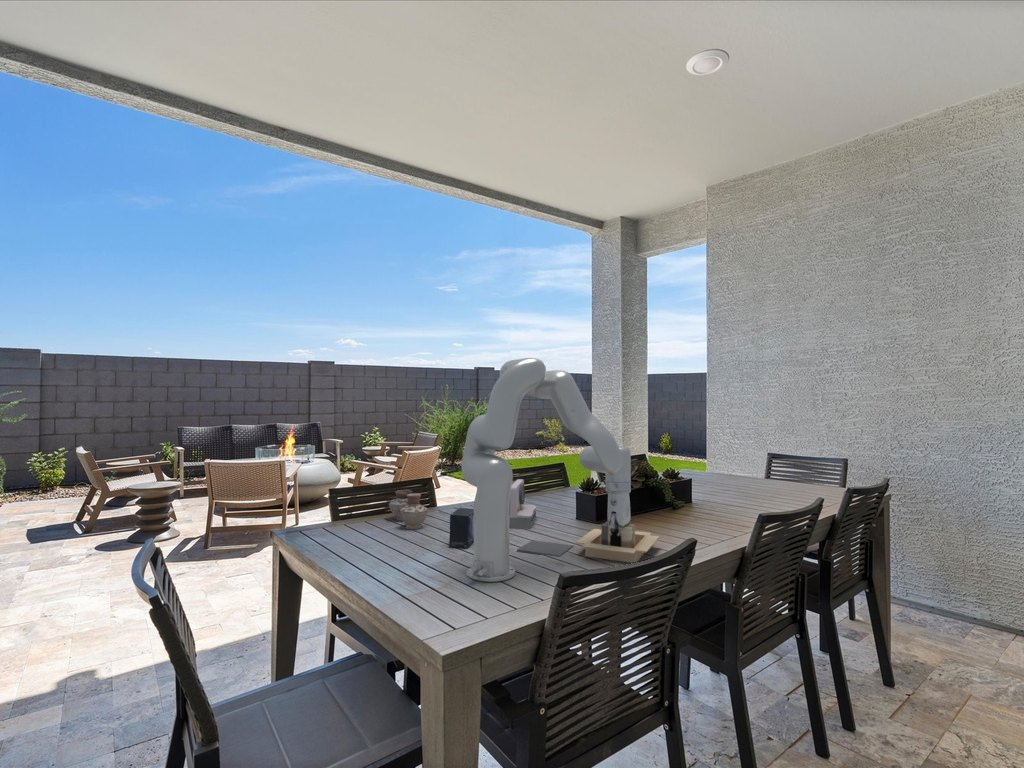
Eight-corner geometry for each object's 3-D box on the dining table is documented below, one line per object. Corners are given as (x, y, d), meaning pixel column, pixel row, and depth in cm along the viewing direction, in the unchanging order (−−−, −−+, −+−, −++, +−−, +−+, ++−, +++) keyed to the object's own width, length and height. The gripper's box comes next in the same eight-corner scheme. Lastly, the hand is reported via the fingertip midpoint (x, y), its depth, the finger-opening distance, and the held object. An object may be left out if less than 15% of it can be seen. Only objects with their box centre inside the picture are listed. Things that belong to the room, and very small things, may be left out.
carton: (644, 568, 148) (644, 554, 148) (572, 558, 157) (572, 544, 157) (660, 546, 169) (660, 534, 169) (596, 538, 179) (596, 526, 179)
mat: (559, 557, 158) (559, 555, 158) (516, 551, 164) (516, 549, 164) (573, 547, 168) (573, 545, 168) (532, 541, 175) (532, 540, 175)
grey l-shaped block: (528, 531, 189) (528, 488, 189) (473, 526, 195) (473, 485, 196) (543, 518, 209) (543, 479, 209) (493, 514, 215) (494, 477, 216)
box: (631, 555, 159) (630, 528, 159) (601, 551, 163) (601, 525, 163) (634, 551, 164) (634, 524, 164) (606, 547, 167) (606, 521, 168)
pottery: (402, 532, 186) (402, 498, 187) (386, 517, 209) (386, 487, 209) (433, 529, 191) (433, 495, 192) (414, 515, 214) (414, 485, 214)
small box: (468, 549, 166) (468, 515, 167) (448, 548, 168) (448, 514, 168) (477, 540, 177) (477, 508, 177) (458, 539, 178) (458, 507, 178)
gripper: (623, 492, 154) (623, 555, 154) (636, 483, 170) (637, 541, 169) (598, 490, 158) (598, 552, 157) (613, 481, 173) (613, 538, 173)
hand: (618, 545), depth 163 cm, fingers closed on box, 5 cm apart
